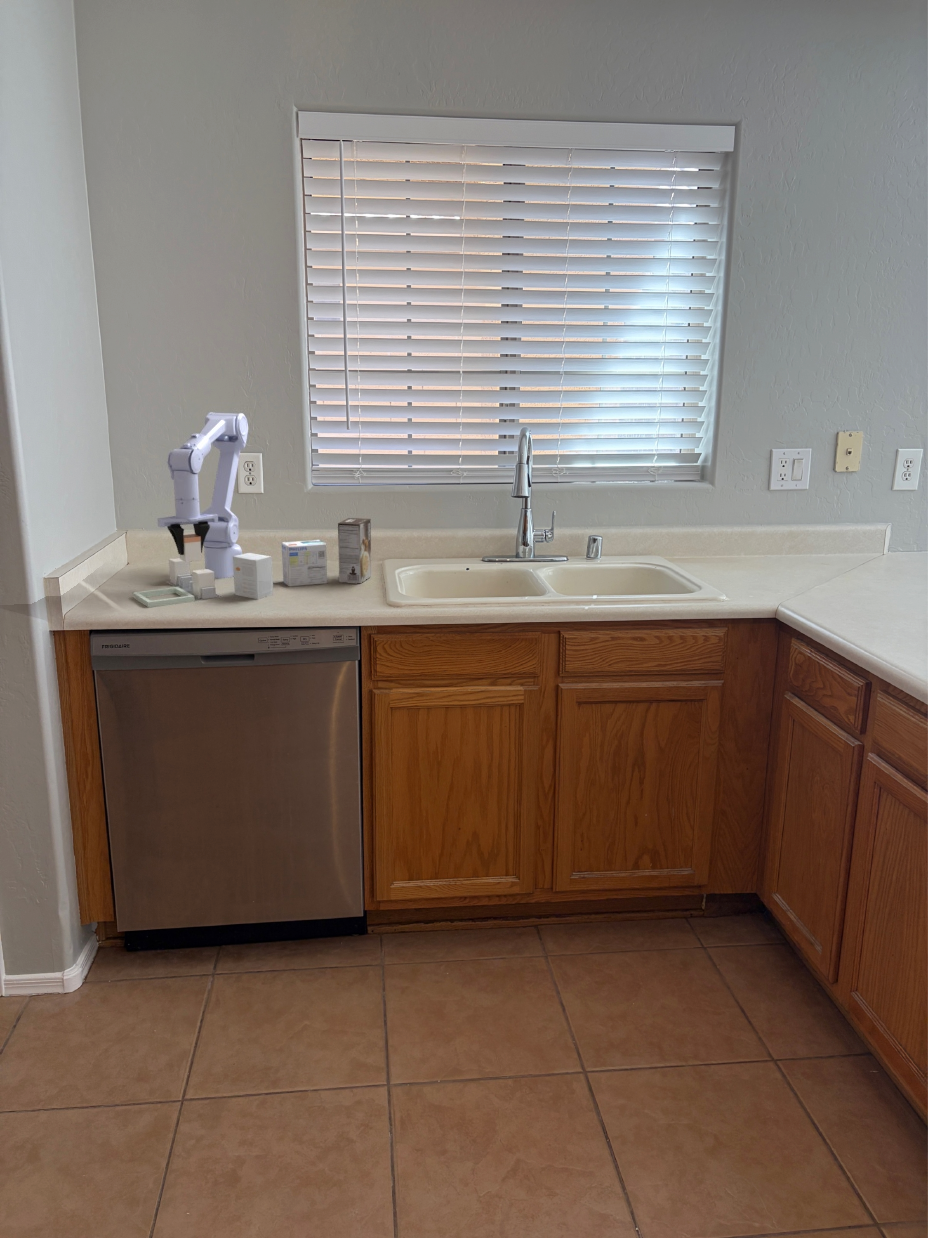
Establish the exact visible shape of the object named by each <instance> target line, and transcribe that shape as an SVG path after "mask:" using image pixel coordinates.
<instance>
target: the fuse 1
mask: <svg viewBox="0 0 928 1238" xmlns="http://www.w3.org/2000/svg"><path fill="white" fill-rule="evenodd" d="M168 564H169V565H168V566H169V567H168V568H169V581H170V582H172V583H173V584H175V585H178V579H177V575H185V574H191V575H192V570H191V562H185V561H183V560H181V559H180V557H177V558H168Z"/></svg>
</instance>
